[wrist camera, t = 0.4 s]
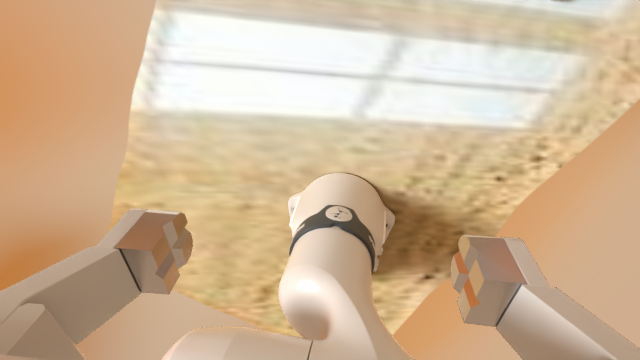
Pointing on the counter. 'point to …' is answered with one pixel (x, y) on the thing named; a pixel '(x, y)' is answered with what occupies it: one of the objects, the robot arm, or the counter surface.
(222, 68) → the counter surface
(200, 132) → the counter surface
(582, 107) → the counter surface
